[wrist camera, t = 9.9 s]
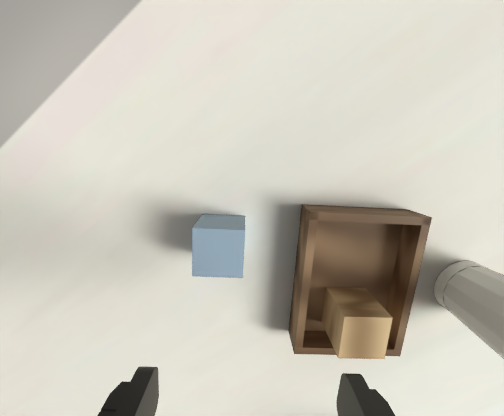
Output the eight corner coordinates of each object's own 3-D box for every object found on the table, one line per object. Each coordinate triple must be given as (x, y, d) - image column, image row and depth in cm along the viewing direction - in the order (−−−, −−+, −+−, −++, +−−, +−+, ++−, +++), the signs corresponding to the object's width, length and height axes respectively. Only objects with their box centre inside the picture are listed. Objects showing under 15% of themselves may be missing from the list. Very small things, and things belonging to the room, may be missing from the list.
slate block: (202, 213, 25) (192, 228, 20) (244, 215, 25) (245, 230, 20) (202, 253, 26) (192, 276, 21) (243, 255, 26) (242, 277, 21)
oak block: (365, 287, 26) (392, 317, 22) (359, 322, 27) (384, 358, 22) (325, 286, 26) (344, 316, 21) (321, 321, 27) (338, 358, 22)
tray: (301, 204, 25) (310, 211, 22) (408, 209, 25) (431, 217, 22) (288, 331, 28) (294, 353, 25) (382, 333, 29) (399, 356, 26)
